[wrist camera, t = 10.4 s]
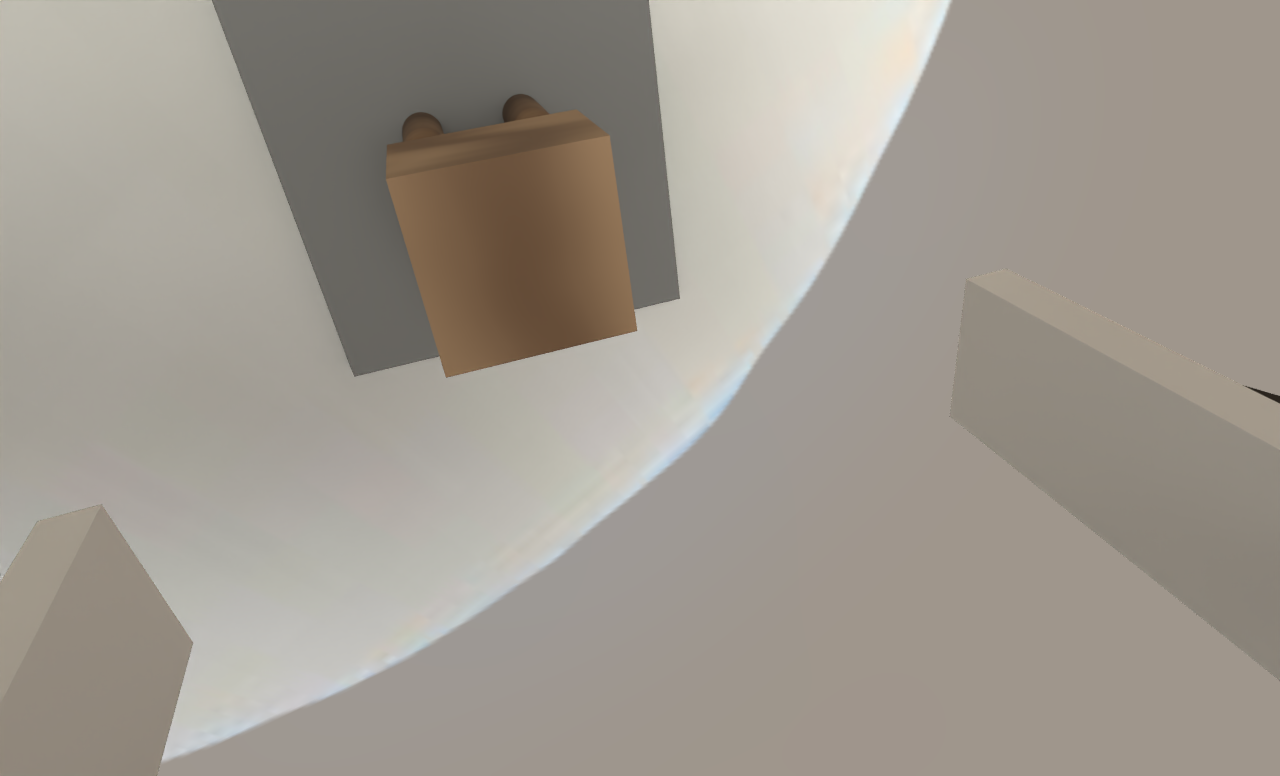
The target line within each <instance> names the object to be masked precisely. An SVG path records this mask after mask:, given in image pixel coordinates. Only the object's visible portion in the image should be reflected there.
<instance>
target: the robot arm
mask: <svg viewBox="0 0 1280 776" xmlns="http://www.w3.org/2000/svg"><path fill="white" fill-rule="evenodd" d="M950 417H951V418H952V419H954V420H955V421H956V422H957V423H959V424H960V425H961V426H962V427H964V428H965V429H966V430H967V431H969V432H970V433H971V434H972V435H974V436H975V437H976V438H977V439H979V440H980V441H981V442H982V443H984V444H985V445H986V446H987V447H989V448H990V449H991V450H992V451H994V452H995V453H996V454H997V455H999V456H1000V457H1001V458H1002V459H1003V460H1005V461H1006V462H1007V463H1008V464H1010V465H1011V466H1012V467H1014V468H1015V469H1016V470H1017V471H1018V472H1020V473H1021V474H1022V475H1023V476H1025V477H1026V478H1027V479H1029V480H1030V481H1031V482H1032V483H1034V484H1035V485H1036V486H1037V487H1038V488H1040V489H1041V490H1042V491H1044V492H1045V493H1046V494H1047V495H1048V496H1050V497H1051V498H1052V499H1053V500H1055V501H1056V502H1057V503H1058V504H1060V505H1061V506H1062V507H1063V508H1065V509H1066V510H1067V511H1068V512H1070V513H1071V514H1072V515H1073V516H1075V517H1076V518H1077V519H1078V520H1080V521H1081V522H1082V523H1083V524H1085V525H1086V526H1087V527H1088V528H1090V529H1091V530H1092V531H1093V532H1095V533H1096V534H1097V535H1098V536H1100V537H1101V538H1102V539H1103V540H1105V541H1106V542H1107V543H1108V544H1110V545H1111V546H1112V547H1113V548H1115V549H1116V550H1117V551H1118V552H1120V553H1121V554H1122V555H1123V556H1125V557H1126V558H1127V559H1128V560H1129V561H1131V562H1132V563H1133V564H1135V565H1136V566H1137V567H1138V568H1139V569H1141V570H1142V571H1143V572H1144V573H1146V574H1147V575H1148V576H1149V577H1151V578H1152V579H1153V580H1154V581H1156V582H1157V583H1158V584H1160V585H1161V586H1162V587H1163V588H1164V589H1166V590H1167V591H1168V592H1170V593H1171V594H1172V595H1173V596H1174V597H1176V598H1177V599H1178V600H1179V601H1181V602H1182V603H1183V604H1184V605H1186V606H1187V607H1188V608H1189V609H1191V610H1192V611H1193V612H1194V613H1196V614H1197V615H1198V616H1199V617H1201V618H1202V619H1203V620H1204V621H1206V622H1207V623H1208V624H1209V625H1211V626H1212V627H1213V628H1214V629H1216V630H1217V631H1218V632H1219V633H1221V634H1222V635H1223V636H1224V637H1226V638H1227V639H1228V640H1229V641H1231V642H1232V643H1233V644H1235V645H1236V646H1237V647H1238V648H1239V649H1241V650H1242V651H1243V652H1244V653H1246V654H1247V655H1248V656H1249V657H1251V658H1252V659H1253V660H1254V661H1256V662H1257V663H1258V664H1259V665H1261V666H1262V667H1263V668H1264V669H1266V670H1267V671H1268V672H1269V673H1270V674H1272V675H1273V676H1274V677H1276V678H1277V679H1278V680H1279V681H1280V396H1278V395H1274V394H1271V393H1267V392H1264V391H1261V390H1257V389H1253V388H1250V387H1247V386H1244V385H1241V384H1239V383H1237V382H1235V381H1233V380H1231V379H1229V378H1227V377H1225V376H1223V375H1221V374H1219V373H1217V372H1215V371H1213V370H1210V369H1209V368H1206V367H1204V366H1202V365H1200V364H1198V363H1196V362H1194V361H1192V360H1190V359H1188V358H1186V357H1184V356H1182V355H1180V354H1178V353H1176V352H1174V351H1172V350H1170V349H1168V348H1166V347H1164V346H1162V345H1160V344H1158V343H1156V342H1154V341H1152V340H1150V339H1148V338H1146V337H1144V336H1141V335H1140V334H1138V333H1136V332H1134V331H1131V330H1130V329H1128V328H1125V327H1123V326H1121V325H1119V324H1117V323H1115V322H1113V321H1111V320H1109V319H1107V318H1105V317H1103V316H1101V315H1099V314H1097V313H1095V312H1093V311H1091V310H1089V309H1087V308H1085V307H1083V306H1081V305H1079V304H1077V303H1075V302H1073V301H1071V300H1069V299H1067V298H1065V297H1063V296H1061V295H1059V294H1057V293H1054V292H1053V291H1051V290H1049V289H1047V288H1045V287H1043V286H1040V285H1038V284H1036V283H1034V282H1032V281H1030V280H1028V279H1026V278H1024V277H1022V276H1020V275H1018V274H1016V273H1014V272H1012V271H1010V270H1008V269H1003V270H999V271H994V272H991V273H987V274H983V275H979V276H975V277H971V278H968V279H966V285H965V294H964V302H963V310H962V318H961V327H960V335H959V344H958V352H957V359H956V369H955V377H954V384H953V393H952V401H951V410H950ZM192 645H193V642H192V640H191V639H190V637H189V636H188V634H187V633H186V631H185V630H184V628H183V627H182V625H181V624H180V622H179V621H178V619H177V618H176V616H175V615H174V613H173V612H172V610H171V609H170V607H169V606H168V604H167V603H166V601H165V599H164V598H163V596H162V595H161V593H160V592H159V590H158V589H157V587H156V586H155V584H154V583H153V581H152V580H151V578H150V577H149V575H148V574H147V572H146V571H145V569H144V568H143V566H142V565H141V563H140V562H139V560H138V559H137V557H136V556H135V554H134V553H133V551H132V550H131V548H130V547H129V545H128V544H127V542H126V540H125V539H124V537H123V536H122V534H121V533H120V531H119V530H118V528H117V527H116V525H115V524H114V522H113V521H112V519H111V518H110V516H109V515H108V513H107V512H106V510H105V509H104V507H103V506H102V504H101V505H97V506H93V507H89V508H86V509H82V510H78V511H74V512H70V513H66V514H63V515H59V516H55V517H51V518H47V519H43V520H40V521H37V523H36V524H35V526H34V528H33V529H32V531H31V533H30V534H29V536H28V538H27V539H26V541H25V543H24V544H23V546H22V548H21V549H20V551H19V553H18V554H17V556H16V558H15V559H14V561H13V562H12V564H11V566H10V567H9V569H8V571H7V572H6V574H5V576H4V577H3V579H2V581H1V582H0V776H157V774H158V771H159V767H160V763H161V760H162V756H163V752H164V749H165V745H166V741H167V737H168V734H169V730H170V726H171V723H172V719H173V715H174V712H175V708H176V704H177V700H178V697H179V693H180V689H181V686H182V682H183V678H184V675H185V671H186V667H187V663H188V660H189V656H190V652H191V649H192Z"/></svg>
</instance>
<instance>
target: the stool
mask: <svg viewBox="0 0 1280 776" xmlns="http://www.w3.org/2000/svg"><path fill="white" fill-rule="evenodd" d="M502 115H503V120H504V123H501V124H495V125H490V126H485V127H479V128H474V129H469V130H463V131H458V132H453V133H447V134H444V133H443V129H442V126H441V124H440V123H439V121H438V120H437V119H436V118H435V117H434V116H432V115H431V114H428V113H424V112H417V113H414V114H412V115H410V116H409V117H408V118H407V119H406V120H405V122H404V124H403V128H402V136H403V142H399V143H394V144H388V145H387V157H386V181H387V184H388V188H389V191H390V194H391V198H392V201H393V204H394V208H395V211H396V214H397V217H398V221H399V224H400V227H401V231H402V234H403V237H404V241H405V244H406V247H407V250H408V254H409V257H410V260H411V264H412V267H413V270H414V274H415V277H416V280H417V283H418V287H419V290H420V293H421V297H422V300H423V303H424V307H425V310H426V313H427V316H428V320H429V323H430V326H431V330H432V333H433V336H434V340H435V343H436V346H437V349H438V353H439V356H440V359H441V363H442V366H443V369H444V373H445V376H446V378H447V377H451V376H455V375H459V374H463V373H467V372H471V371H475V370H479V369H483V368H487V367H492V366H496V365H500V364H504V363H508V362H512V361H516V360H520V359H524V358H528V357H532V356H536V355H541V354H545V353H549V352H553V351H557V350H561V349H565V348H569V347H573V346H577V345H581V344H585V343H590V342H594V341H598V340H602V339H606V338H610V337H614V336H618V335H622V334H626V333H630V332H634V331H637V326H636V319H635V312H634V305H633V298H632V290H631V283H630V276H629V269H628V262H627V255H626V248H625V241H624V234H623V227H622V219H621V212H620V205H619V198H618V191H617V184H616V177H615V170H614V163H613V156H612V149H611V141H610V135H609V134H607V133H606V132H605V131H603V130H602V129H601V128H600V127H598V126H597V125H596V124H595V123H593V122H592V121H591V120H589V119H588V118H587V117H586V116H584V115H583V114H582V113H581V112H579V111H578V110H577V109H575V110H570V111H565V112H559V113H554V114H549V113H548V112H547V111H546V110H545V109H544V108H543V107H542V106H541V105H540V104H539V103H537V102H536V101H535V100H534V99H533V98H532V97H530V96H528V95H525V94H517V95H514V96H512V97H510V98H509V99H508V100H507V101H506V103H505V105H504V107H503V112H502Z"/></svg>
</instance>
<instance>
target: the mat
mask: <svg viewBox="0 0 1280 776" xmlns="http://www.w3.org/2000/svg"><path fill="white" fill-rule="evenodd" d="M212 2H213V4H214V7H215V10H216V12H217V15H218V18H219V20H220V23H221V25H222V28H223V31H224V33H225V36H226V39H227V41H228V44H229V47H230V49H231V52H232V55H233V57H234V60H235V63H236V65H237V68H238V70H239V73H240V76H241V78H242V81H243V84H244V86H245V89H246V92H247V94H248V97H249V100H250V102H251V105H252V107H253V110H254V113H255V115H256V118H257V121H258V123H259V126H260V129H261V131H262V134H263V137H264V139H265V142H266V144H267V147H268V150H269V152H270V155H271V158H272V160H273V163H274V166H275V168H276V171H277V174H278V176H279V179H280V182H281V184H282V187H283V189H284V192H285V195H286V197H287V200H288V203H289V205H290V208H291V211H292V213H293V216H294V219H295V221H296V224H297V226H298V229H299V232H300V234H301V237H302V240H303V242H304V245H305V248H306V250H307V253H308V256H309V258H310V261H311V264H312V266H313V269H314V271H315V274H316V277H317V279H318V282H319V285H320V287H321V290H322V293H323V295H324V298H325V301H326V303H327V306H328V308H329V311H330V314H331V316H332V319H333V322H334V324H335V327H336V330H337V332H338V335H339V338H340V340H341V343H342V345H343V348H344V351H345V353H346V356H347V359H348V361H349V364H350V367H351V369H352V372H353V375H354V377H355V376H359V375H363V374H367V373H371V372H375V371H380V370H384V369H388V368H392V367H396V366H400V365H405V364H409V363H413V362H417V361H421V360H426V359H430V358H434V357H438V356H439V353H438V349H437V346H436V343H435V340H434V336H433V333H432V330H431V326H430V323H429V320H428V316H427V313H426V310H425V307H424V303H423V300H422V297H421V293H420V290H419V287H418V283H417V280H416V277H415V274H414V270H413V267H412V264H411V260H410V257H409V254H408V250H407V247H406V244H405V241H404V237H403V234H402V231H401V227H400V224H399V221H398V217H397V214H396V211H395V208H394V204H393V201H392V198H391V194H390V191H389V188H388V184H387V181H386V157H387V145H388V144H394V143H399V142H403V136H402V128H403V124H404V122H405V120H406V119H407V118H408V117H409V116H410V115H412V114H414V113H417V112H424V113H428V114H431V115H432V116H434V117H435V118H436V119H437V120H438V121H439V123H440V124H441V126H442V129H443V133H444V134H447V133H453V132H458V131H463V130H469V129H474V128H479V127H485V126H490V125H495V124H501V123H504V120H503V115H502V112H503V107H504V105H505V103H506V101H507V100H508V99H509V98H510V97H512V96H514V95H517V94H525V95H528V96H530V97H532V98H533V99H534V100H535V101H536V102H537V103H539V104H540V105H541V106H542V107H543V108H544V109H545V110H546V111H547V112H548V113H549V114H554V113H559V112H565V111H570V110H575V109H577V110H578V111H579V112H581V113H582V114H583V115H584V116H586V117H587V118H588V119H589V120H591V121H592V122H593V123H595V124H596V125H597V126H598V127H600V128H601V129H602V130H603V131H605V132H606V133H607V134H609V135H610V141H611V149H612V156H613V163H614V170H615V177H616V184H617V191H618V198H619V205H620V212H621V219H622V227H623V234H624V241H625V248H626V255H627V262H628V269H629V276H630V283H631V290H632V298H633V305H634V309H638V308H643V307H647V306H651V305H655V304H659V303H663V302H668V301H672V300H676V299H680V295H679V286H678V276H677V267H676V257H675V248H674V238H673V229H672V219H671V209H670V200H669V190H668V181H667V171H666V162H665V152H664V143H663V133H662V123H661V114H660V104H659V95H658V85H657V76H656V66H655V57H654V47H653V38H652V28H651V18H650V9H649V0H212Z"/></svg>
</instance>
